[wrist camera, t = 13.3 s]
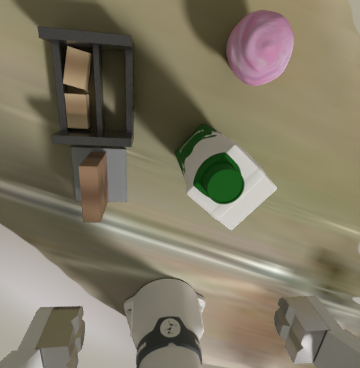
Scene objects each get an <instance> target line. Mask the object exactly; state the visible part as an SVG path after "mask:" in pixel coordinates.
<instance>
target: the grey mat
mask: <svg viewBox="0 0 360 368" xmlns="http://www.w3.org/2000/svg"><path fill="white" fill-rule="evenodd" d="M90 152H106V155H107V178H108V202H127V181H126V149H122V148H97V147H71V156H72V166H73V176H74V186H75V197H76V201H82V200H81V189H80V178H79V165H80V164H81V163H82V162H83V160H84V159H85V158H86V157H87V156H88V155H89V154H90Z"/></svg>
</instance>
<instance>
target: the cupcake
mask: <svg viewBox="0 0 360 368" xmlns="http://www.w3.org/2000/svg"><path fill="white" fill-rule="evenodd" d="M293 46H294V35H293V32H292V29H291V27H290V25H289V22H288V21H287V19H286V18H285V17H284V16H283V15H281V14H279V13H276V12H272V11H265V10H259V11H255V12H252V13H250V14H248V15H246V16H245V17H244V18H243V19H242V20H241V21H240V22H239V23H238V24H237V25H236V26H235V28H234V29H233V31H232V32H231V34H230V36H229V39H228V43H227V48H226V56H227V58H228V62H229V65H230V68H231V69H232V71H233V72H234V74H235V75H236V76H237V77H238V78H239V79H240V80H241V81H242V82H244V83H246V84H248V85H251V86H258V85H263V84H265V83H268V82H271V81H272V80H273V79H275V78H277V77H278V76H279V75H281V74H282V73H283V71H284V70H285V68H286V66H287V64H288V62H289V59H290V57H291V54H292V50H293Z"/></svg>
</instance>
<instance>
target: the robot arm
mask: <svg viewBox="0 0 360 368" xmlns="http://www.w3.org/2000/svg"><path fill="white" fill-rule="evenodd" d="M205 304H206V302H205V298H204V297H202V296H200V295H198V294H196V293H195V292H194V290H193V289H192V288H191V287H190V286H189V285H188V284H186V283H185V282H183V281H180V280H176V279H160V280H156V281H153V282H150V283H148V284H147V285H145V286H144V287H142V288H141V289H140V290H139V291H138V293H137V294H136V295H135V296H133V297H131V298H129V299H128V300H126V301H125V302H124V310H125V314H126V317H127V320H128V324H129V327H130V330H131V337H132V338H133V342H134V344H135V347H136V349H137V355H136V365H137V368H201V364H202V352H201V347H200V344H199V343H200V338H201V337H202V333H203V332H204V328H203V321H202V315H201V314H202V312H203V309H204V307H205ZM278 305H279V307H280V308H279V309H278V310H277V311H276V312H275V316H274V323H275V327H276V330H277V332H278V334H279V336H280V337H281V338H282V339H283V340H285V341H286V342H285V348H286V350H287V352H288V354H289V356H290V358H291V359H292V361H293V363H294V364H297V363H314V365H315V366H316V367H317V368H360V338H359V337H357V336H356V335H354V334H352V333H351V332H349V331H348V330H343V329H342V328H341V327H340V325H339V324H338V323H337V322H336V320H335V319H334V318H333V317H332V315H331V314H330V313H329V312H328V310H327V309H326V308H325V307H324V305H323V304H322V303H321V301H320V300H319V299H318V298H317V297H315V296H303V297H302V296H298V297H281V298H280V299H279V301H278ZM82 316H83V307H80V306H77V307H41V308H40V309H39V310H38V311H37V312H36V314H35V316H34V318H33V320H32V322H31V324H30V326H29V328H28V330H27V332H26V334H25V336H24V338H23V340H22V342H21V344H20V346H19V348H18V350H17V351H12V352H11V353H10V354H8V355H7V356H6V357H5V358H4V359H3V360H2V361H0V368H77V365H78V356H77V353H78V352H79V351H80V350H81V349H82V345H83V340H84V334H85V322H84V321H83V320H82Z"/></svg>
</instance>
